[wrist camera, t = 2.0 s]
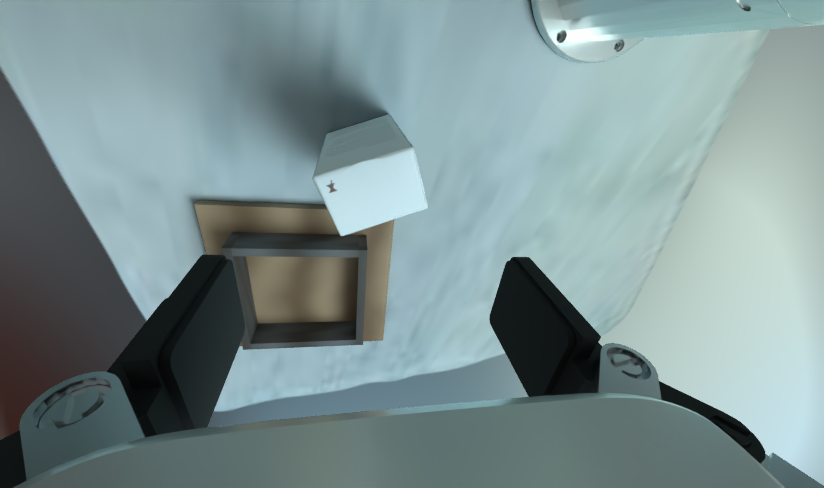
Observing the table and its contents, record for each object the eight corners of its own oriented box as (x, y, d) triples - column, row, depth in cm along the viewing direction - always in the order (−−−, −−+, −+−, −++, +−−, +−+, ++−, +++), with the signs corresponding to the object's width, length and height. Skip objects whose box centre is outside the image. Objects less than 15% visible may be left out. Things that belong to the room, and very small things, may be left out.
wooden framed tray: (393, 208, 32) (398, 225, 29) (382, 334, 41) (384, 359, 37) (198, 200, 29) (177, 218, 25) (232, 339, 37) (220, 368, 34)
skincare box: (343, 177, 30) (337, 239, 19) (325, 132, 27) (308, 176, 17) (404, 158, 30) (430, 210, 19) (391, 112, 27) (413, 143, 17)
